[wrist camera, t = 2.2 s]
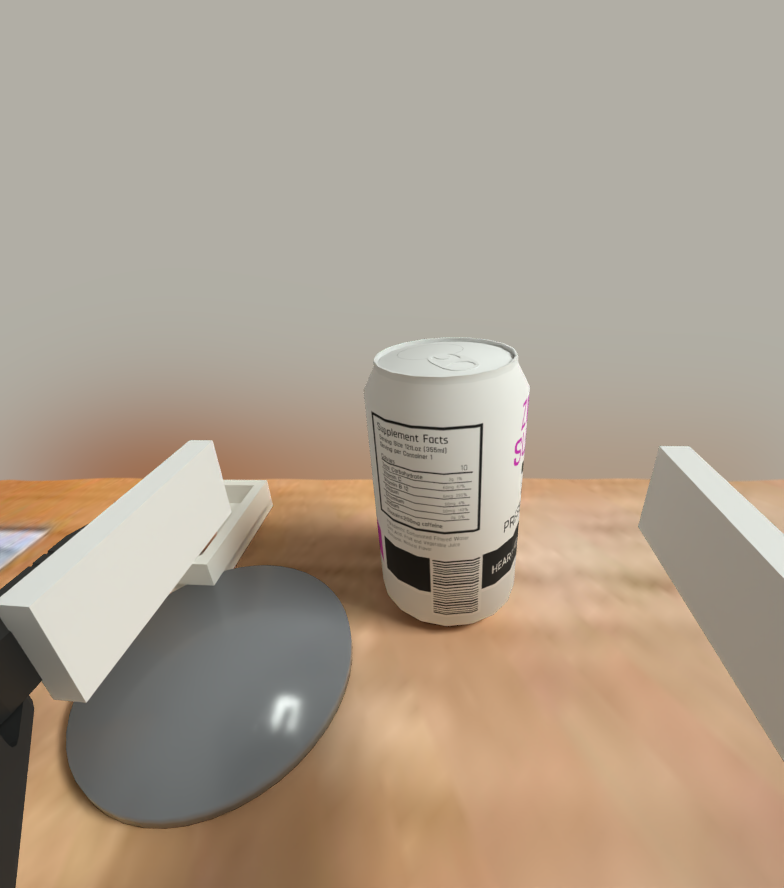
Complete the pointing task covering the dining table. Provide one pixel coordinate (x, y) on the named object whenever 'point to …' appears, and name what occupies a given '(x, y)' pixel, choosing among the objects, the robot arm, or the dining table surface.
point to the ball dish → (231, 532)
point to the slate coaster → (213, 698)
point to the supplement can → (447, 474)
